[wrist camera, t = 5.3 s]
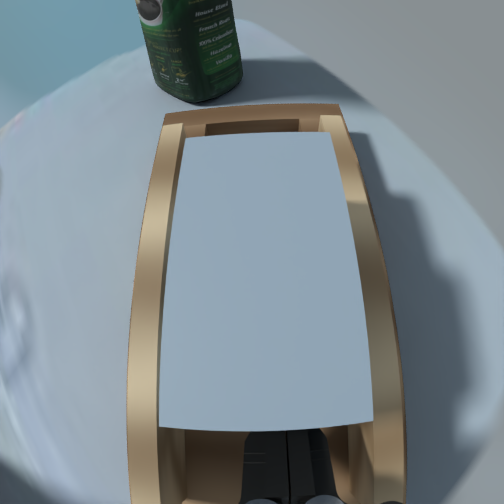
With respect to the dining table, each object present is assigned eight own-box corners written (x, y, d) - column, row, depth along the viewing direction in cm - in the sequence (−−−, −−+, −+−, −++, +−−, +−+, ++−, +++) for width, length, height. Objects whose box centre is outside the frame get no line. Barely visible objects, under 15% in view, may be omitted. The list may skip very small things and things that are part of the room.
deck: (386, 496, 13) (439, 532, 7) (151, 505, 13) (98, 543, 7) (333, 130, 25) (344, 63, 19) (173, 139, 26) (153, 74, 20)
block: (320, 410, 13) (373, 420, 6) (214, 413, 13) (158, 426, 6) (308, 241, 17) (329, 132, 10) (217, 244, 17) (185, 137, 10)
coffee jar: (256, 80, 29) (246, -85, 13) (197, 114, 27) (158, -73, 11) (200, 57, 33) (177, -76, 16) (146, 86, 31) (105, -57, 14)
